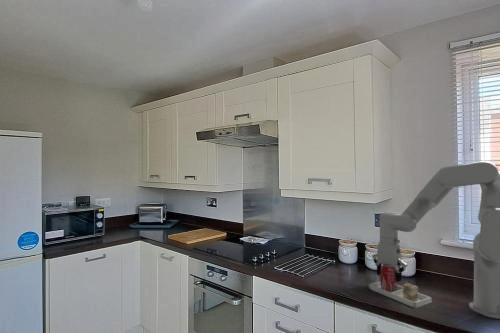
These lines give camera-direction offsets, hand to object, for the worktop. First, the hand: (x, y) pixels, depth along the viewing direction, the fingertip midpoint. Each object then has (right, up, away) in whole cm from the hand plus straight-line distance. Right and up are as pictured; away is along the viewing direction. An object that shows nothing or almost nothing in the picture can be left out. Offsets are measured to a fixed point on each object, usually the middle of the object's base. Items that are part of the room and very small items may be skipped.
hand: (388, 277), depth 138 cm
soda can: (0, -6, 0) cm, 6 cm away
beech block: (+5, -6, -9) cm, 12 cm away
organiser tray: (+2, -7, -5) cm, 8 cm away
